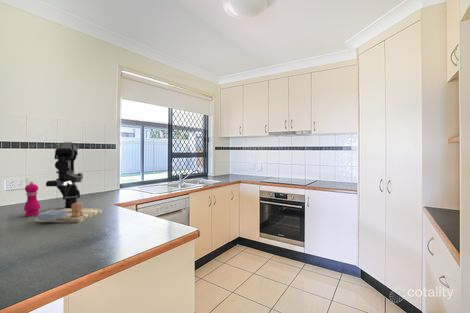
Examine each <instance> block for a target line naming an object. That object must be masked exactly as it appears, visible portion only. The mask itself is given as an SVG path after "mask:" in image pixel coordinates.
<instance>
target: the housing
mask: <svg viewBox="0 0 470 313" xmlns="http://www.w3.org/2000/svg"><path fill="white" fill-rule="evenodd" d="M36 216H37V217H36V218H38V220H56V219H59V218H62V217H64V216H67V210H61V209H50V210H47V211H44V212H41V213H40V212H39V214H37V215H36Z"/></svg>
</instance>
